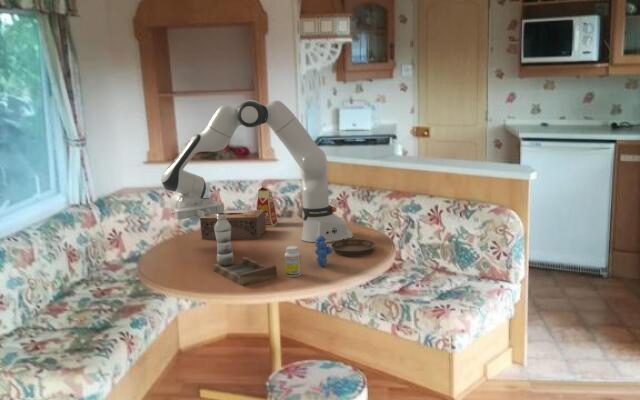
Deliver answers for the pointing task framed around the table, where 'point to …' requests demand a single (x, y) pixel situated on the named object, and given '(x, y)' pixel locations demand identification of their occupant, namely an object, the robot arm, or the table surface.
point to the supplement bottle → (292, 262)
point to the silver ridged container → (223, 240)
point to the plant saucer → (353, 247)
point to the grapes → (322, 250)
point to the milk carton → (267, 206)
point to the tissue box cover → (236, 224)
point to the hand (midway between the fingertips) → (207, 213)
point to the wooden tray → (247, 272)
